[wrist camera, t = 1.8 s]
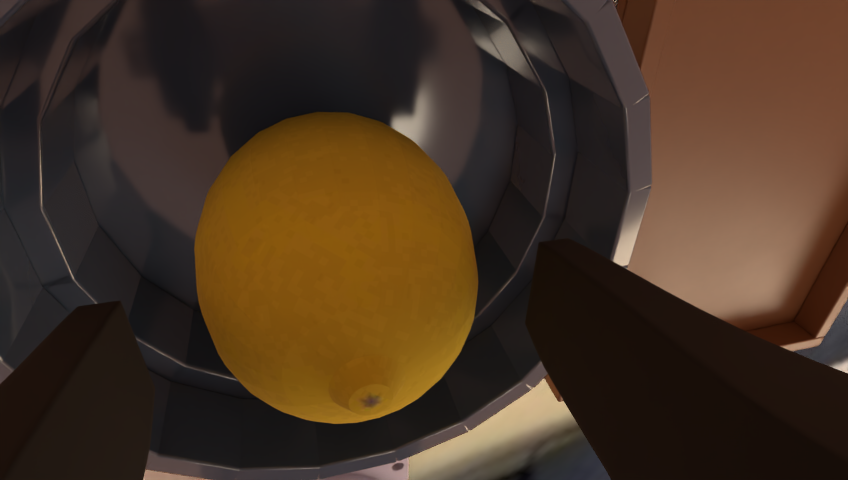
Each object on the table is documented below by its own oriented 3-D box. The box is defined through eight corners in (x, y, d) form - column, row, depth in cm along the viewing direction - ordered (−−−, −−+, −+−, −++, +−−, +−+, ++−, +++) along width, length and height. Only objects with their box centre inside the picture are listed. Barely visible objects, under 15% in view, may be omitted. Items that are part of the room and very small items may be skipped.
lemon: (443, 95, 14) (603, 271, 8) (388, 264, 16) (472, 502, 10) (223, 41, 12) (183, 220, 5) (199, 243, 14) (153, 529, 8)
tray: (791, 322, 25) (819, 346, 24) (540, 373, 22) (558, 402, 21) (1071, -189, 15) (1149, -197, 13) (663, -224, 12) (714, -237, 10)
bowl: (518, 313, 20) (584, 420, 16) (120, 381, 17) (78, 535, 13) (588, -132, 12) (751, -143, 8) (-119, -159, 9) (-412, -197, 5)
